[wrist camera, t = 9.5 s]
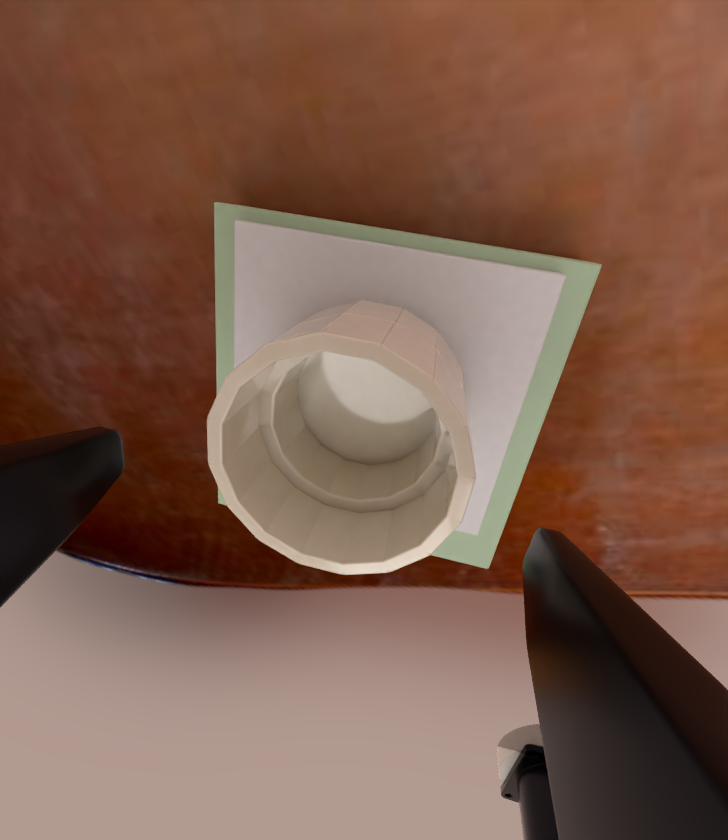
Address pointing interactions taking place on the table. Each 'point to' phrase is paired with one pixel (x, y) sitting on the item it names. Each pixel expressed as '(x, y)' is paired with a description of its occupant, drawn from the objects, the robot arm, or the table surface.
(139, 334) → the table surface
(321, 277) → the scale
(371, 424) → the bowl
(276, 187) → the table surface
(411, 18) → the table surface
